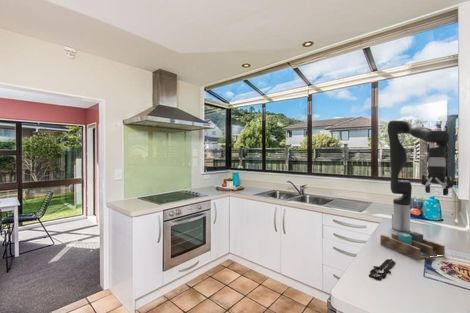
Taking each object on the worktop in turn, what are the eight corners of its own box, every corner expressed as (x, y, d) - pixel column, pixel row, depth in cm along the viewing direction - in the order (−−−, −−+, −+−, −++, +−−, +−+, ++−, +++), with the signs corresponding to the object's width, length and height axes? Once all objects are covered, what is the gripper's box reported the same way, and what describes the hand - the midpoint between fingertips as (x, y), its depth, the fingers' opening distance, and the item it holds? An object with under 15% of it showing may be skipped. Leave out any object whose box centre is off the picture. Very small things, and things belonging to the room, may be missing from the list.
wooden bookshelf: (380, 243, 125) (380, 234, 125) (404, 241, 129) (404, 232, 129) (417, 259, 105) (417, 249, 105) (444, 255, 110) (444, 245, 110)
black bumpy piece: (388, 259, 106) (388, 256, 106) (404, 265, 101) (404, 261, 101) (363, 275, 91) (363, 272, 91) (381, 282, 86) (381, 279, 86)
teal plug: (398, 247, 118) (398, 233, 118) (403, 246, 119) (403, 233, 119) (405, 250, 114) (405, 236, 114) (411, 249, 115) (411, 235, 115)
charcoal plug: (409, 245, 120) (409, 232, 120) (415, 245, 121) (415, 232, 121) (417, 248, 116) (417, 235, 116) (423, 247, 117) (423, 234, 117)
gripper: (418, 165, 132) (418, 192, 132) (446, 166, 118) (446, 196, 118) (427, 165, 134) (427, 191, 134) (456, 166, 120) (456, 195, 120)
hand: (436, 194), depth 126 cm, fingers open, 8 cm apart
